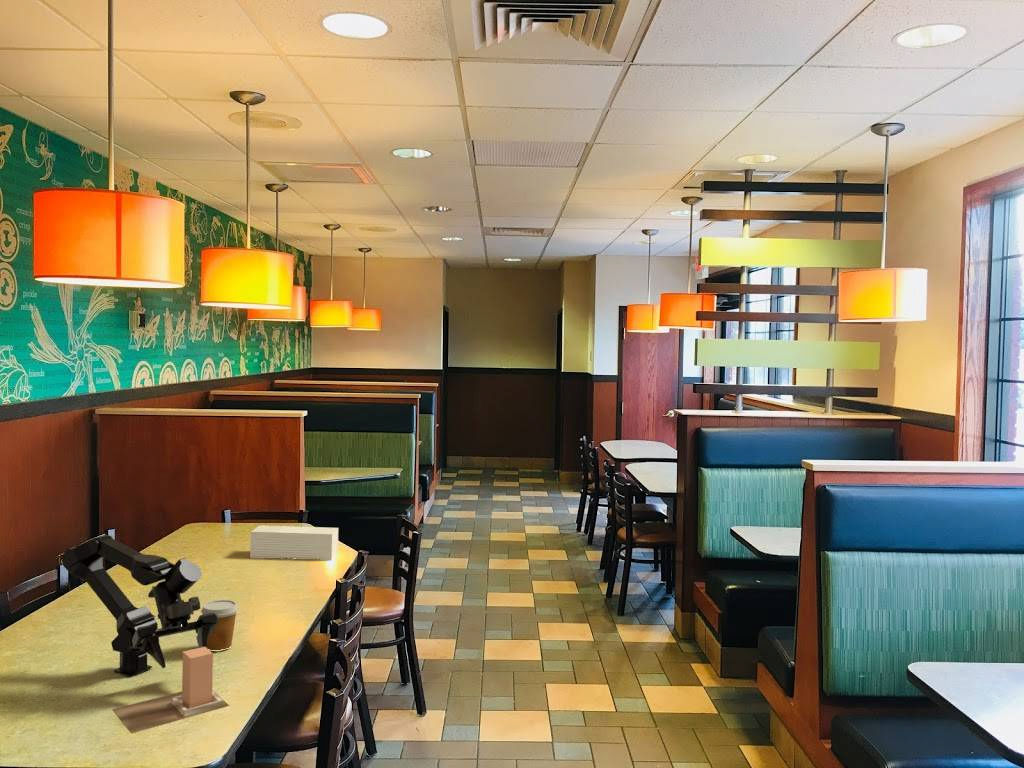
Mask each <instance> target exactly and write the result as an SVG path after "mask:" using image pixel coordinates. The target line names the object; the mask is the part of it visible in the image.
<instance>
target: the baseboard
mask: <svg viewBox="0 0 1024 768" xmlns="http://www.w3.org/2000/svg"><path fill="white" fill-rule="evenodd" d="M226 707H230V704H229V703H227V702H226V701H225V700H224V699H223V698H222V697H221V696H219V694H217V693H216V692H215V691H214V690H213V689H212V702H211V703H207V704H204V705H200V706H196V707H193V708H189V709H187V708H186V707H185V706H184V705H183V704H182V690H181V691H179V692H174V693H170V694H166V695H162V696H158V697H155V698H151V699H147V700H143V701H140V702H135V703H132V704H127V705H124V706H121V707H117V708H113V709H112V711H113V712H114V714H115V715H116V716H117V717H118V720H119V719H120V721H121V722H122V724H123V725H124V726H125V728H127V730H128V731H129V732H130V733H131V734H135V733H138V732H142V731H145V730H149V729H152V728H156V727H159V726H163V725H166V724H169V723H170V724H171V723H173V722H177V721H181V720H185V719H187V718H188V719H189V718H191V717H195V716H198V715H201V714H205V713H208V712H212V711H216V710H219V709H223V708H226Z"/></svg>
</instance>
